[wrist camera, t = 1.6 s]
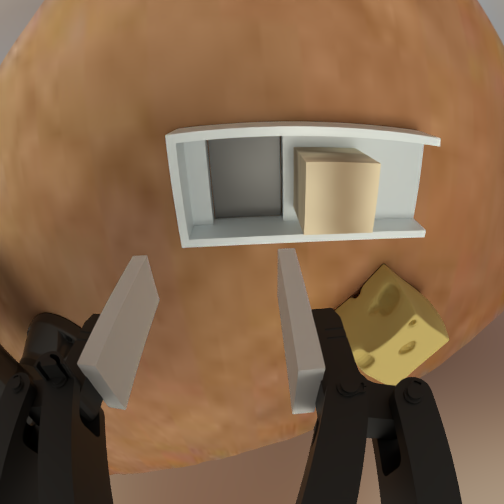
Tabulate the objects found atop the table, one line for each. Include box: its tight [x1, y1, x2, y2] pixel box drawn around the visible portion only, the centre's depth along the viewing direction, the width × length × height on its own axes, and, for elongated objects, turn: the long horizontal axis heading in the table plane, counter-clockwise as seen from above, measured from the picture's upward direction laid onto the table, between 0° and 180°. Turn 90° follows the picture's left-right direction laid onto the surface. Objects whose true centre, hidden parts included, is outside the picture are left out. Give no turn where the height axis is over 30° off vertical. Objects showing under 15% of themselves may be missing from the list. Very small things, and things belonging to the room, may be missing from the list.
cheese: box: [335, 264, 449, 385], centre depth 33 cm, size 10×11×10 cm
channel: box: [165, 121, 441, 248], centre depth 26 cm, size 25×11×4 cm, turn 93°
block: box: [293, 147, 381, 235], centre depth 24 cm, size 6×6×6 cm
